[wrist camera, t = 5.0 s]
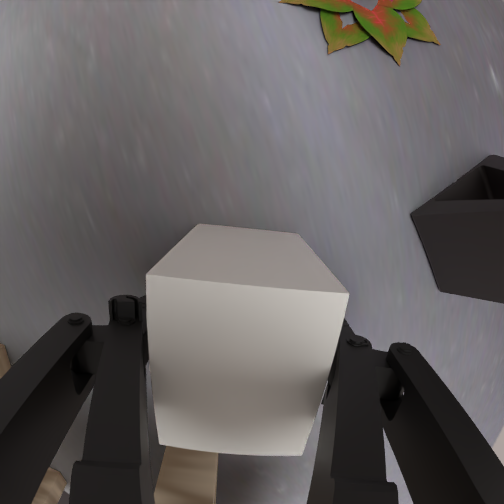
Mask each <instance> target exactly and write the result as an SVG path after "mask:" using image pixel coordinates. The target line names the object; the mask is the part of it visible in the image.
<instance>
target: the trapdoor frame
mask: <svg viewBox="0 0 504 504" xmlns="http://www.w3.org/2000/svg"><path fill="white" fill-rule="evenodd" d="M10 368H11V365H10V362H9V358H8V355H7V352H6V349H5V345H3V344H1V343H0V379H1V378H2V377H3V376H4V374H5V373H6V372H7V371H8V370H9V369H10ZM218 454H219V453H216V452H207V451H199V450H191V449H184V448H178V447H172V446H166V449H165V453H164V456H163V460H162V464H161V468H160V472H159V476H158V480H157V483H156V487H155V491H154V500H155V504H215V503H216V486H217V469H218ZM66 484H67V482H66V481H65V479H64V478H63V476H62V475H61V473H60V472H59V471H56V470H54V469H52V468H50V467H49V468H48V470H47V472H46V474H45V476H44V478H43V480H42V482H41V484H40V486H39V489H38V491H37V493H36V495H35V497H34V499H33V501H32V504H57V503H58V501H59V499H60V497H61V495H62V493H63V490H64V488H65V486H66Z"/></svg>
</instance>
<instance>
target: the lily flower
mask: <svg viewBox="0 0 504 504" xmlns="http://www.w3.org/2000/svg"><path fill="white" fill-rule="evenodd" d="M421 1H422V0H378V3H377V5H376V7H375V8H374V9H373V10H372V11H370V10H368V9H366V8H364V7H362V6H360V5H358V4H356V3H354V2H352V1H350V0H281V1H280V2H278V3H293V4H303V5H306V6H313V7H319V8H321V11H320V17H321V23H322V27H323V31H324V35H325V38H326V40H327V42H328V43H329V44H330V45H328V54H330V53H332V52H333V51H334V50H339V49H342V48H344V47H345V45H348V46H351V45H354V44H357V43H360V42H362V41H364V40H366V39H368V38H369V37H370V36H371V35H372V36H373V37H374V38H375V39H376V40H377V41H378V42H379V43H380V44H381V45H382V46H383V47H384V48H385V50H386V51H387V52H388V53H389V54H391V55H393V56H394V59H395V60H396V62H397V63H398V64H399V66H400V59H401V57H402V54H403V49H402V48H403V47H405V44H406V41H407V36H408V37H411V38H415V39H419V40H423V41H428V42H431V41H433V42H434V43H437V44H439V45H441V44H440V43H439V42H438V40H437V38H436V36H435V35H434V33H433V31H432V30H430V25H429V24H428V22H427V20H426V19H425V18H424V16H423V15H422V14H421V13H420V12H419V11H418V10H416V9H415V8H414V7H416V6H417V5H418V4H420V3H421ZM393 9H399V10H400V11H401V13H402V14H403V15H404V17H405V19H406V20H407V21H408V22H409V23H410V24H409V23H406V22H404V20H403V19H402V18H401V16H400V15H399V14H398V13H397V12H396V11H394V10H393ZM352 10H353V11H354V14H355V16H356V18H357V20H358V21H359V22H356V23H354V24H352V25H347V26H345V27H344V28H343V29H342V21H341V19H340V15H339V12H349V11H352Z"/></svg>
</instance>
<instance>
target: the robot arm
mask: <svg viewBox="0 0 504 504" xmlns="http://www.w3.org/2000/svg"><path fill="white" fill-rule="evenodd" d="M108 302H109V315H110V322H109V325H92V322H91V318H90V317H89V316H88V315H86V314H82V313H71V314H69V315H66V316H64V317H63V318H61V319H60V320H59V321H58V322H57V323H56V324H55V325H54V326H53V327H52V328H51V329H50V330H49V331H48V332H46V333H45V334H44V335H43V336H42V337H41V338H40V339H39V340H38V341H37V342H36V343H35V344H34V345H33V346H32V347H31V348H30V349H29V350H28V351H27V352H26V353H25V354H24V355H23V356H22V357H21V358H20V359H19V360H18V361H17V362H16V363H15V364H14V365H13V366H12V367H11V368H10V369H9V370H8V371H7V372H6V373H5V374H4V376H3V377H2V378H1V379H0V504H32V501H33V499H34V497H35V495H36V493H37V491H38V489H39V486H40V484H41V482H42V480H43V478H44V476H45V474H46V472H47V470H48V468H49V466H50V464H51V462H52V460H53V458H54V456H55V454H56V452H57V451H58V449H59V447H60V445H61V443H62V441H63V439H64V437H65V435H66V434H67V432H68V430H69V428H70V426H71V424H72V423H73V421H74V419H75V417H76V415H77V414H78V412H79V410H80V408H81V407H82V405H83V403H84V401H85V400H86V398H87V396H88V395H89V393H90V391H91V389H92V388H93V386H94V389H93V394H92V400H91V405H90V411H89V417H88V423H87V429H86V436H85V443H84V451H83V458H82V460H81V461H76V462H75V463H74V465H73V469H72V476H71V485H70V497H69V504H155V500H154V492H153V484H152V475H151V464H150V453H149V439H148V421H147V392H146V364H147V362H148V360H149V348H148V330H147V305H146V295H145V296H143V297H141V298H138V297H136V296H132V295H119V296H114V297H112V298H110V300H109V301H108ZM149 370H150V362H149ZM403 392H404V395H403ZM321 404H324V406H323V413H322V421H321V428H320V434H319V441H318V447H317V453H316V459H315V464H314V470H313V475H312V480H311V485H310V490H309V495H308V500H307V504H399V503H398V490H397V485H396V484H395V483H394V482H387V479H386V465H385V449H384V437H383V428H384V431H385V433H386V436H387V438H388V440H389V443H390V445H391V448H392V450H393V452H394V455H395V457H396V460H397V462H398V465H399V467H400V470H401V472H402V475H403V477H404V480H405V483H406V485H407V488H408V490H409V493H410V496H411V498H412V501H413V504H504V466H503V465H502V463H501V462H500V460H499V459H498V457H497V456H496V454H495V453H494V451H493V450H492V448H491V447H490V445H489V444H488V442H487V441H486V439H485V438H484V437H483V435H482V434H481V432H480V431H479V429H478V428H477V427H476V425H475V424H474V422H473V421H472V420H471V418H470V417H469V416H468V414H467V413H466V411H465V410H464V409H463V407H462V406H461V405H460V403H459V402H458V401H457V399H456V398H455V397H454V395H453V394H452V393H451V392H450V390H449V389H448V388H447V386H446V385H445V384H444V382H443V381H442V380H441V379H440V377H439V376H438V375H437V374H436V372H435V371H434V370H433V368H432V367H431V366H430V365H429V363H428V362H427V361H426V360H425V359H424V357H423V356H422V355H421V354H420V352H419V351H418V350H417V349H416V348H415V347H413V346H411V345H410V344H408V343H407V344H406V343H399V342H398V343H393V344H391V345H390V348H389V351H388V352H384V351H379V350H374V349H372V345H371V343H370V341H368V340H367V339H366V338H364V337H361V336H358V335H355V334H354V332H353V331H352V329H351V328H350V327H349V324H348V323H347V321H346V320H345V318H344V320H343V324H342V328H341V332H340V336H339V340H338V344H337V347H336V351H335V355H334V358H333V362H332V365H331V369H330V372H329V376H328V384H327V387H326V390H325V393H324V397H323V400H322V403H321Z"/></svg>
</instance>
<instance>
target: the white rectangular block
mask: <svg viewBox="0 0 504 504" xmlns="http://www.w3.org/2000/svg"><path fill="white" fill-rule="evenodd" d="M348 298H349V292H348V291H347V290H346V289H345V288H344V286H343V285H342V284H341V283H340V282H339V280H338V279H337V278H336V277H335V276H334V275H333V273H332V272H331V271H330V270H329V269H328V268H327V266H326V265H325V264H324V263H323V262H322V261H321V259H320V258H319V257H318V256H317V255H316V254H315V253H314V251H313V250H312V249H311V248H310V247H309V246H308V245H307V243H306V242H305V241H304V240H303V239H302V238H301V237H300V236H299V234H297V233H288V232H279V231H270V230H260V229H250V228H240V227H230V226H220V225H209V224H197V225H196V226H195V227H194V228H193V229H192V230H191V231H190V232H189V233H188V234H187V235H186V236H185V237H184V238H183V239H182V240H180V241H179V242H178V243H177V244H176V245H175V246H174V247H173V248H172V249H171V250H170V251H169V252H168V253H167V254H166V255H165V256H164V257H163V258H162V259H161V260H160V261H159V262H158V263H157V264H156V265H155V266H154V267H153V268H152V269H151V270H150V271H149V272H148V273H147V274H146V305H147V330H148V348H149V362H150V374H151V384H152V394H153V403H154V411H155V418H156V426H157V433H158V439H159V444H161V445H166V446H172V447H178V448H184V449H191V450H199V451H207V452H216V453H227V454H240V455H260V456H302V453H303V451H304V448H305V445H306V442H307V440H308V437H309V434H310V431H311V429H312V426H313V423H314V420H315V417H316V414H317V411H318V408H319V405H320V402H321V399H322V396H323V392H324V389H325V386H326V383H327V379H328V376H329V372H330V369H331V365H332V362H333V358H334V355H335V351H336V347H337V344H338V340H339V336H340V332H341V328H342V324H343V320H344V316H345V311H346V307H347V303H348Z"/></svg>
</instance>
